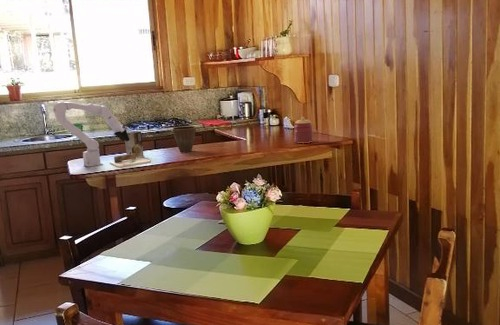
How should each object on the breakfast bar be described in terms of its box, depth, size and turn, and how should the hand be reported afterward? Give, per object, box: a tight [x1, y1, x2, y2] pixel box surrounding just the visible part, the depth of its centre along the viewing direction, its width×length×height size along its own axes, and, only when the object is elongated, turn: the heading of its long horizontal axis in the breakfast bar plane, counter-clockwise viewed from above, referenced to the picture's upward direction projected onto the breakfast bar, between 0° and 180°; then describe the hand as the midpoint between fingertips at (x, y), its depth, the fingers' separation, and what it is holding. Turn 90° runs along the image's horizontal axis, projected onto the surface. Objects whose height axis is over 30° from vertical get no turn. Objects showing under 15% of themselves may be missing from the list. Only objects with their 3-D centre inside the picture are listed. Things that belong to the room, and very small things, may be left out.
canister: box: [293, 116, 314, 143], centre depth 351 cm, size 13×13×18 cm
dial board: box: [109, 156, 152, 168], centre depth 312 cm, size 20×16×1 cm
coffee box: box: [124, 130, 145, 158], centre depth 331 cm, size 9×6×16 cm
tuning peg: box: [113, 153, 137, 162], centre depth 314 cm, size 13×4×3 cm, turn 123°
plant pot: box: [172, 125, 196, 153], centre depth 341 cm, size 15×15×16 cm
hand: (126, 140), depth 320 cm, fingers open, 7 cm apart
